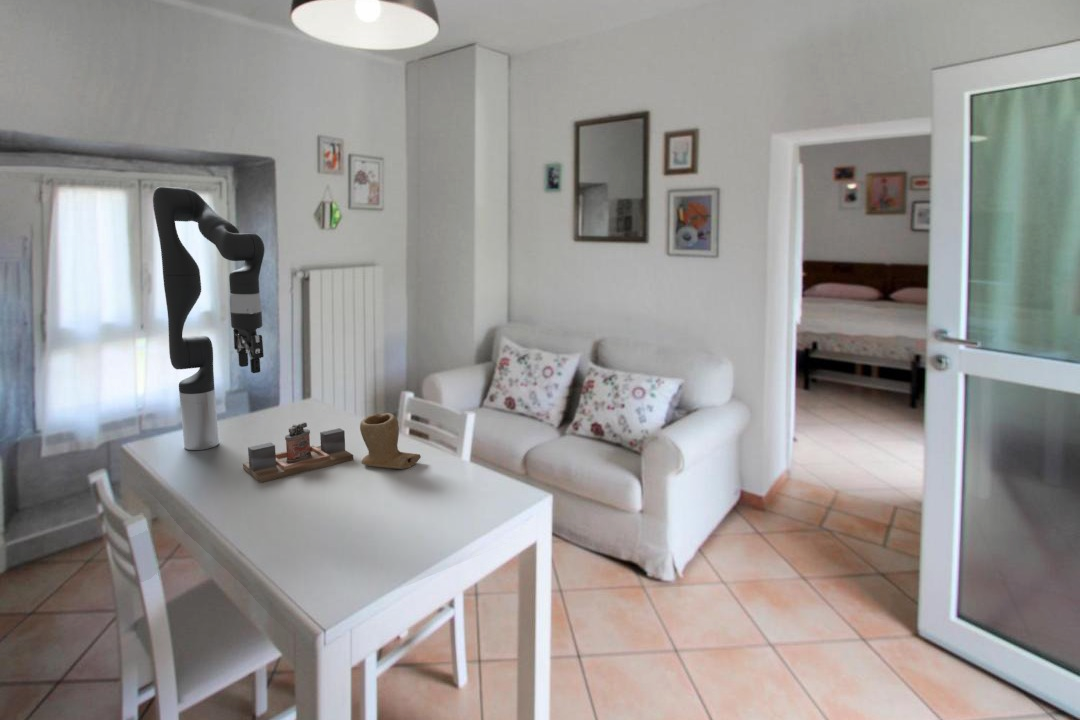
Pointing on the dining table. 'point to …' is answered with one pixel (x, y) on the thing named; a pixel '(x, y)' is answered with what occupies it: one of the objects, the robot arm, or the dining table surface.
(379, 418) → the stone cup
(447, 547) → the dining table surface
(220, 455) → the dining table surface
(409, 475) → the dining table surface
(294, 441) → the lighter
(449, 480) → the dining table surface
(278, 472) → the rail
